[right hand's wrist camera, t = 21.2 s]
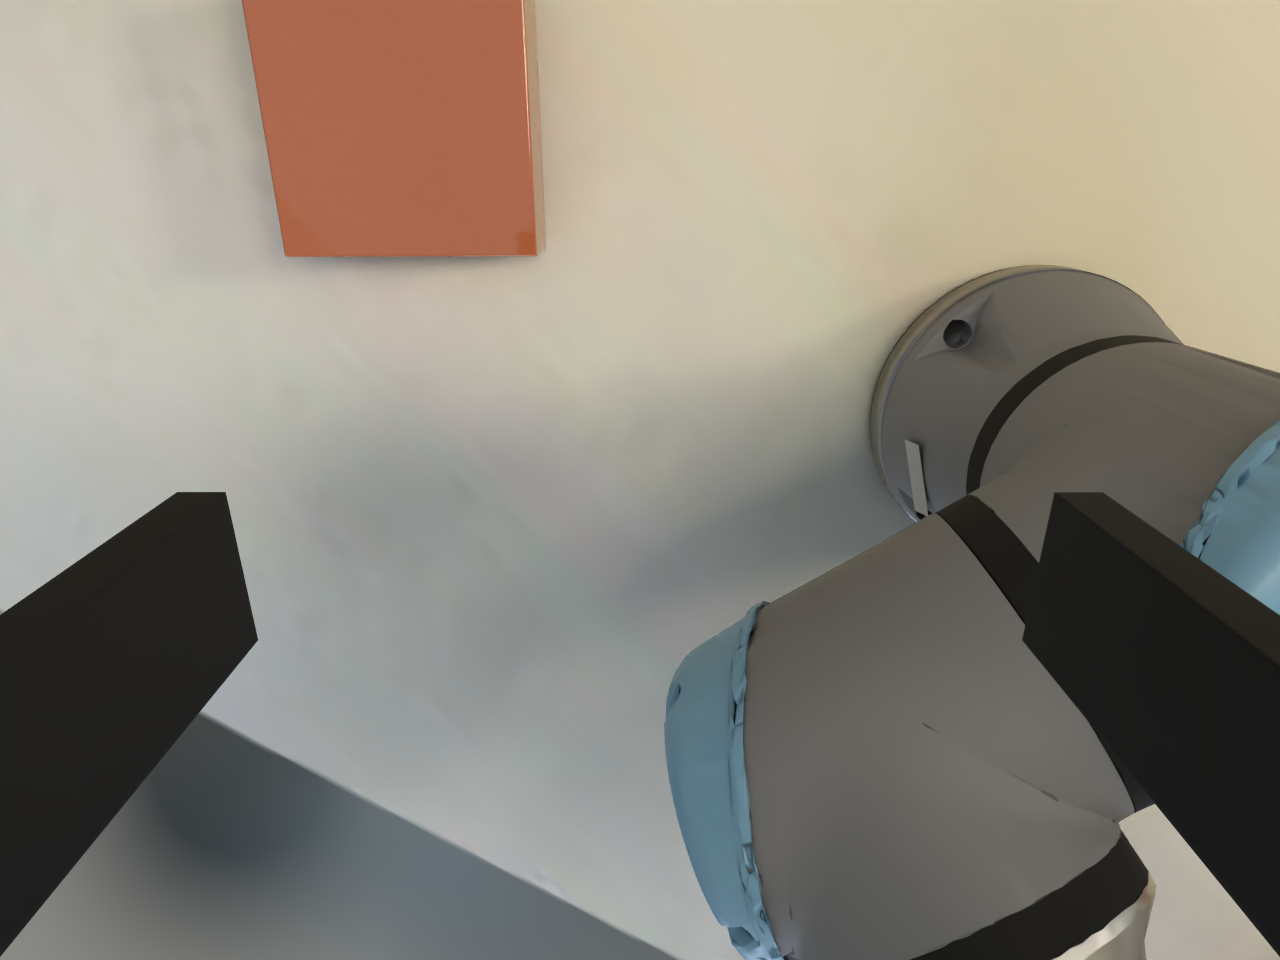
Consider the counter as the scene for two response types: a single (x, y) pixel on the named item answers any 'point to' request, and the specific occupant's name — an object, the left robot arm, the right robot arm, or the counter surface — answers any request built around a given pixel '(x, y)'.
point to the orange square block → (401, 125)
